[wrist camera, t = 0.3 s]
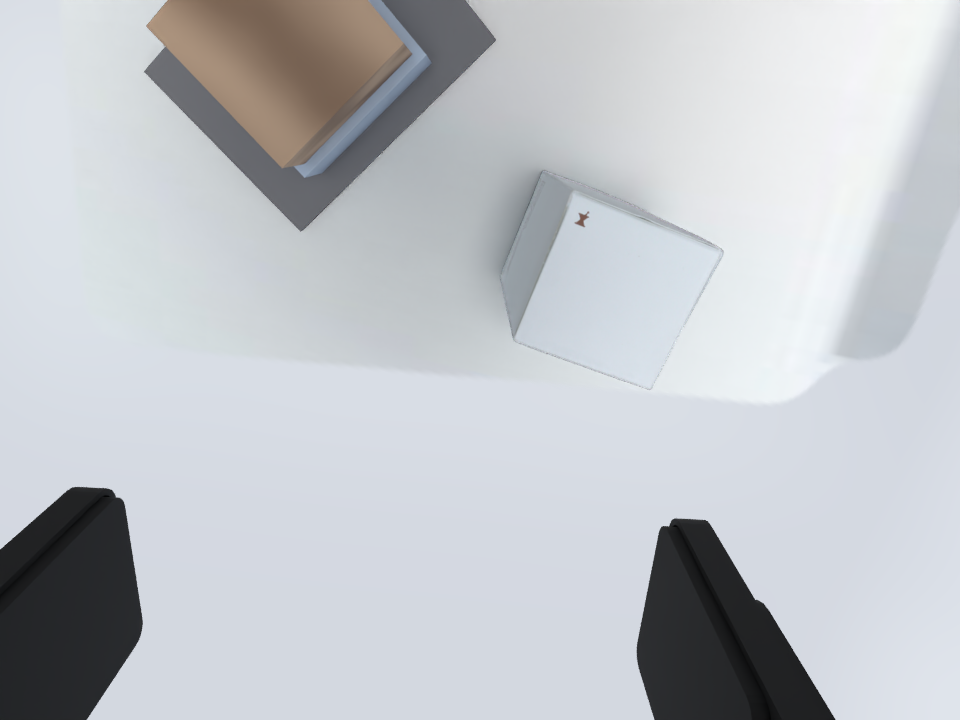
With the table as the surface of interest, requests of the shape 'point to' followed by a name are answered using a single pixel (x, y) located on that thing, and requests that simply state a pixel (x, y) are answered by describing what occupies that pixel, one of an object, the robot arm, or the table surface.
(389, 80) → the tower base
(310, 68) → the tower top
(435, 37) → the mat
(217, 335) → the table surface
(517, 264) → the supplement box
